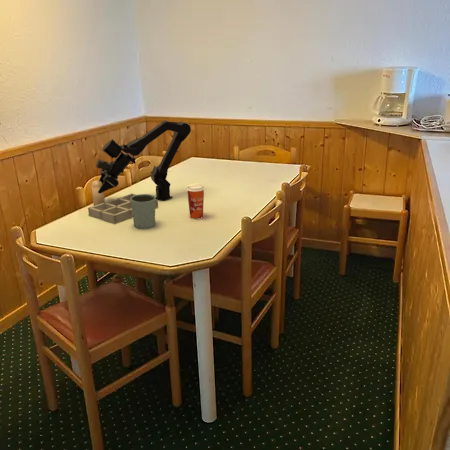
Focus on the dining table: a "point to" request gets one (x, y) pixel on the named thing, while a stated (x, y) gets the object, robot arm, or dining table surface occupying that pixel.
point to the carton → (114, 209)
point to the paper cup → (195, 200)
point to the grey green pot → (143, 210)
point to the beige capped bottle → (97, 197)
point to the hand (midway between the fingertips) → (97, 190)
